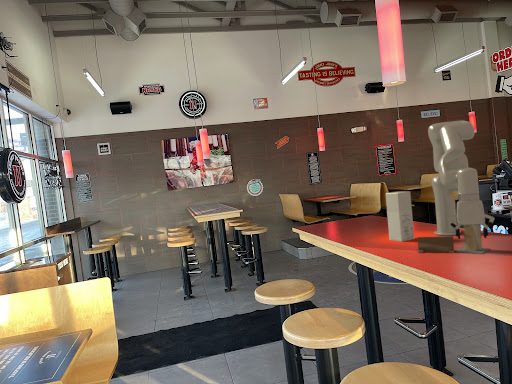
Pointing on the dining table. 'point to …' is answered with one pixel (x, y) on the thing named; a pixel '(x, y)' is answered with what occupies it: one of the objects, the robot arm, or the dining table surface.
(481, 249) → the mat
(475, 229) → the box
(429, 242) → the screen
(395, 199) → the tall white carton
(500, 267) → the dining table surface
